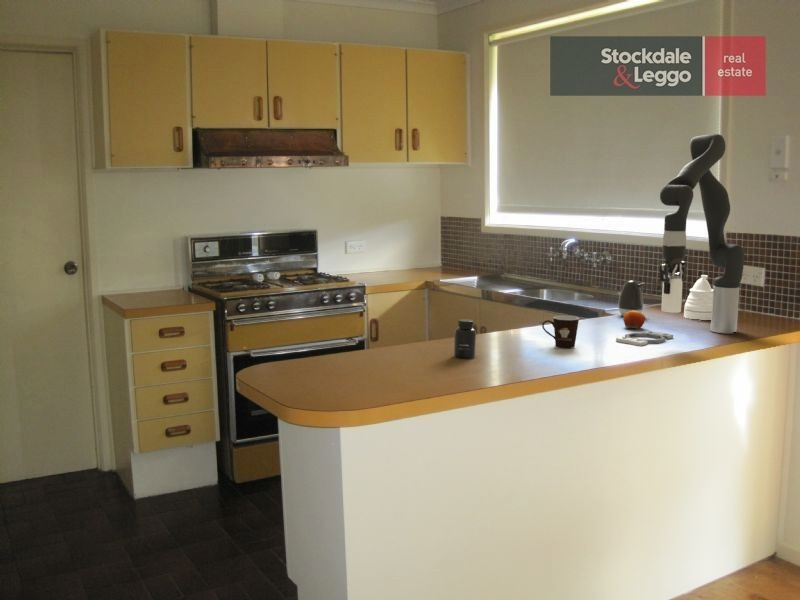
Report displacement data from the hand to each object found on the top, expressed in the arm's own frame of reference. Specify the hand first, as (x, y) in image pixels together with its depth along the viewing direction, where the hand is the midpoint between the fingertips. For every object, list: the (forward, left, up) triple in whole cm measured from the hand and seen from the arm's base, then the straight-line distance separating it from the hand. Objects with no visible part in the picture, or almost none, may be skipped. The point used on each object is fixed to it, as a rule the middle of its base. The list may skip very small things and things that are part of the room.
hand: (671, 292), depth 289 cm
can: (0, 0, -7) cm, 7 cm away
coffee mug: (+29, -24, -19) cm, 42 cm away
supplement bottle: (+67, -34, -19) cm, 78 cm away
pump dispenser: (-43, -42, -19) cm, 63 cm away
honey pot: (-62, -21, -19) cm, 68 cm away
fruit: (-20, -26, -19) cm, 38 cm away
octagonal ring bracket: (-3, -11, -19) cm, 22 cm away
